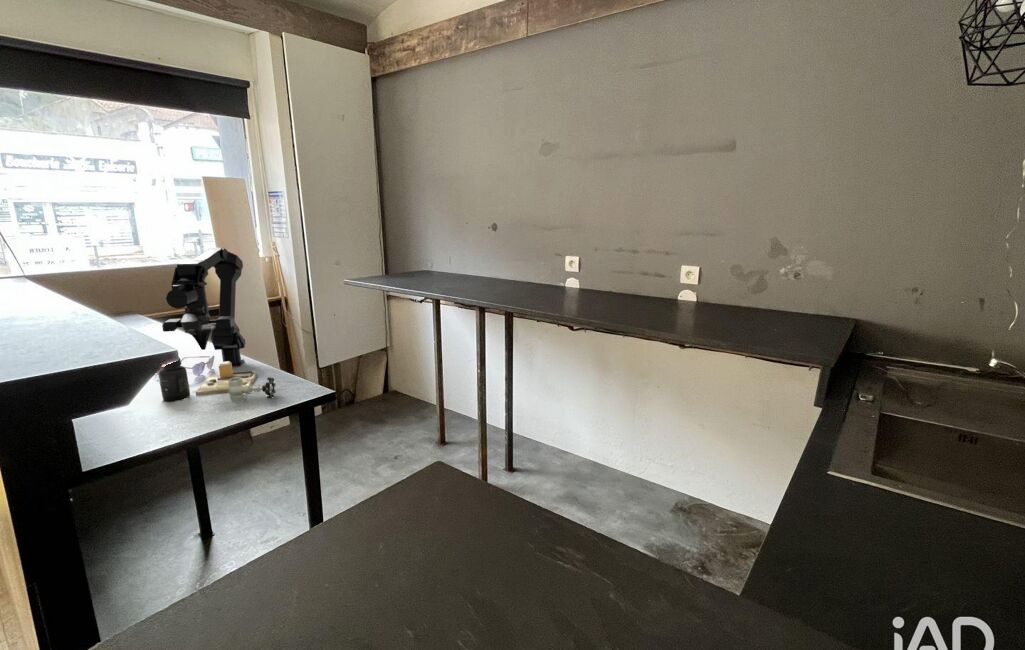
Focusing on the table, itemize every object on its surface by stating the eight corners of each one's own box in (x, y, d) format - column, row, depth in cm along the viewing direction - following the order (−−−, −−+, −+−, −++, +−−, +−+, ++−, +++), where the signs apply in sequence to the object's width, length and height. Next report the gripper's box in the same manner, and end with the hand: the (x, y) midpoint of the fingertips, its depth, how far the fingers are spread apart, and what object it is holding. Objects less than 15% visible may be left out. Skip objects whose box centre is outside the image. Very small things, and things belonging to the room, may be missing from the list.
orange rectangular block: (222, 374, 160) (220, 361, 159) (233, 373, 161) (231, 360, 159) (220, 377, 157) (218, 364, 156) (230, 377, 158) (228, 363, 157)
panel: (211, 378, 160) (210, 373, 160) (257, 375, 164) (256, 370, 164) (195, 396, 146) (194, 390, 145) (247, 391, 150) (246, 386, 149)
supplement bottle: (157, 400, 142) (150, 362, 140) (178, 392, 149) (172, 355, 146) (174, 403, 141) (168, 364, 138) (196, 394, 147) (189, 357, 144)
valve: (226, 404, 140) (270, 402, 142) (222, 383, 138) (267, 381, 140) (234, 396, 146) (276, 394, 148) (231, 375, 145) (274, 373, 147)
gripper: (150, 308, 141) (160, 359, 145) (222, 305, 146) (229, 354, 150) (165, 301, 152) (173, 348, 155) (232, 298, 157) (238, 344, 160)
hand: (203, 349), depth 155 cm, fingers closed
